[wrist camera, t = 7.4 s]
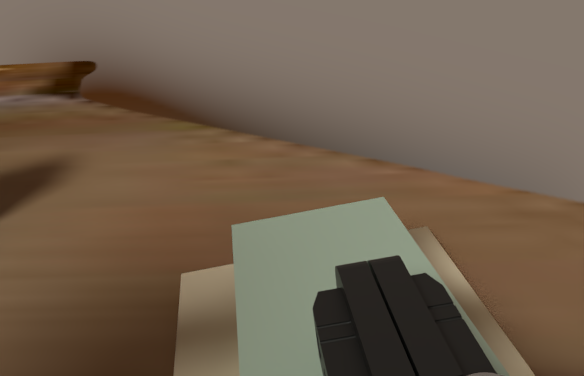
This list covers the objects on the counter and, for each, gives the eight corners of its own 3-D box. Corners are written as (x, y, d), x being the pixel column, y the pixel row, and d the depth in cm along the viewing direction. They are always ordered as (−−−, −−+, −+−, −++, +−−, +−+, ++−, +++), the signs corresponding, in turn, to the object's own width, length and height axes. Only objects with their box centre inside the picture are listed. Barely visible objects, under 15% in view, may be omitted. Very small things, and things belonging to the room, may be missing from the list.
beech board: (568, 437, 15) (572, 415, 14) (167, 528, 14) (158, 508, 14) (427, 236, 25) (427, 219, 24) (184, 283, 24) (179, 266, 23)
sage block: (526, 400, 10) (383, 196, 19) (244, 461, 10) (231, 225, 19) (516, 517, 12) (388, 280, 21) (274, 573, 12) (249, 307, 21)
